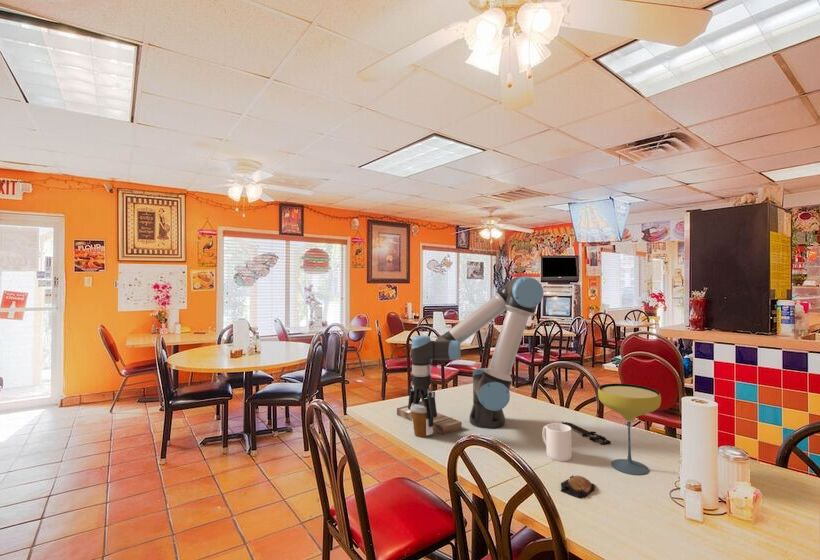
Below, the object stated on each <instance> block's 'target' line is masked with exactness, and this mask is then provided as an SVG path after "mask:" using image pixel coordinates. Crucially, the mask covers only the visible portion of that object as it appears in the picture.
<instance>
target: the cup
mask: <svg viewBox="0 0 820 560" xmlns="http://www.w3.org/2000/svg"><path fill="white" fill-rule="evenodd" d="M541 434H542V435H541V437H542V441H543V443H544V444H545V447H546V450H545V452H546V455H547V457H548V458H549V459H551V460H552V461H556V462H567V461H571V459H572V456H573V449H572V448H573V447H572V445H573V444H572V442H573V441H572V436H573V435H572V434H573V433H572V429H571V427H570V426H568V425H565V424H562V423H559V422H552V423H548V424H546V425H544V426H543V427H542V432H541Z"/></svg>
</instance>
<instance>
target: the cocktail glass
mask: <svg viewBox="0 0 820 560" xmlns="http://www.w3.org/2000/svg"><path fill="white" fill-rule="evenodd" d="M597 397H598V400H599V401H600V402H601V404H602V405H603V406H605V407H606V408H608V409H610V410H612V411H613V412H615V413H618V414H619V415H620V416H621V417H622V418H623V419H624V421H626V422H627V459H625V458H617V459H614V460H611V466H612V468H614V470H616V471H618V472H621V473H624V474H627V475H632V476H642V475H645V474H646V475H647V474H648V473H649V472H650V469H649V467H648V466H647V465H646V464H644V463H642V462H640V461H636V460H633V459H632V448H631V447H632V446H631V422H633V421H634V420H635V419H636V418H638V417H639V416H642V415H646V414H650V413H652V412H655V411H656V410H658V409H659V408H660V406H661V403H662V396H661V393H660V392H659V391H658V390H657V389H654V388H651V387H647V386H643V385H638V384H631V383H606V384H602V385H600V386H599V387H598V390H597Z"/></svg>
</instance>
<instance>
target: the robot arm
mask: <svg viewBox="0 0 820 560" xmlns="http://www.w3.org/2000/svg"><path fill="white" fill-rule="evenodd" d="M543 297H544V287H543V285H542V284H541V283H540V281H539V280H537V279H536V278H534V277H531V276H526V275H525V276H516V277H513V278H512V279H510V280H509V281H508V282H507V283H506V284H504V285H503V286H502V287H501V288H500V289H498V290H497V291H496V292H495V295H494V296H492V298H491V299H489V300H488V301H487V302H485V303H484V304H483V305H481V306H480V307H478V308H477V309H475V310H474V311H473V312H471V314H469V315H467V317H464V319H463V320H461V321H460V322H459V323H457V324H456V325H454V326H453V327H451V328H450V329H449V330H448V331H446V332H445V333H444V334H441V335H439V336H438V337H437V338H436V340H432V339H431V337H430V336H429V335H424V334H423V335H422V334H421V335H414V336H413V337H412V338H411V374H412V376H411V381H412V382H411V383H412V385H409V386H408V390H409V393H408V394H409V395H408V402H407V403H408V405H407V406H408V409H410V407H411V404H412V403H414V404H417V403H419V402H420V401H423V403H424V407H426V409H427V413H426V414H427V418H426V435H429V436H431V435H433V434H434V431H433V418H435V417H437V413H438V412H437V403H436V392H435V391H431V388H430V386H431V384H432V376H431V373H432V371H431V370H432V369H431V368H432V367H431V365H432V363H431V361H432V360H433V361H434V360H438V361H439V360H441V361H442V360H445V361H448V360H451V361H453V360H459V359H460V358H461V354H462V353H461V351H462V350H461V344H462V343H463V342H465V341H466V340H467V339H469V338H470V337H472V336H473V335H475V334H476V333H477V332H478V331H480V330H481V329H482V328H484V327H485V326H486V325H488V324H489V323H491V322H492V321H493V320H495V319H497V317H499V316H500V315H501V314H503V313H504V312H506V313H505V316H504V320H503V323H502V327H501V329H500V331H499V336H498V337H497V338H498V339H497V341H496V344H495V347H494V350H493V353H492V357H491V360H490V362H489V366H488V367H486V368H484V367H483V368H481V367H480V368H475V369H474V370H472V396H473V397H472V401H473V402H472V403H473V404H472V407H471V410H470V414H469V423H470V424H471V425H473V426H475V427H477V428H484V429H494V428H495V429H496V428H501V427H503V426H504V425H505V424H506V417H505V414H504V411H503V409H504V408H505V407H507V405H508V404H509V403H510V398H511V393H510V389H511V386H512V382H513V379H512V376H511V372H512V369H513V366H514V364H515V360H516V357H517V354H518V351H519V348H520V344H521V342H522V338H523V335H524V333H525V330H526V327H527V323H528V320H529V318H530V317H531V316H534V314H535V311H536V309H537V306H539V304H540V303H541V302H542V300H543ZM410 410H411V409H410ZM411 412H412V411H411ZM411 423H412V427H411V428H412V430H414V425H413V418H412V421H411Z"/></svg>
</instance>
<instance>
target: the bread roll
mask: <svg viewBox="0 0 820 560" xmlns="http://www.w3.org/2000/svg"><path fill="white" fill-rule="evenodd" d="M560 486H561V487H560V492H562V493H563V494H566V495H570V496H571V497H573V498H575V499H587V498H588V497H589V496H590V495H591V494H592V493H593V492H594V491H595V489H596V486H597V485H596V484H595V483H593V482H591V480H588V479H587V478H586V477H584V476H581V475H571V476H569V478H568V479H566V480H564V481H563V482H561V483H560Z"/></svg>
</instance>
